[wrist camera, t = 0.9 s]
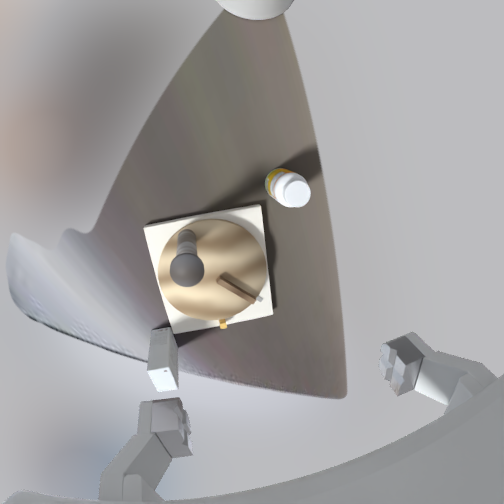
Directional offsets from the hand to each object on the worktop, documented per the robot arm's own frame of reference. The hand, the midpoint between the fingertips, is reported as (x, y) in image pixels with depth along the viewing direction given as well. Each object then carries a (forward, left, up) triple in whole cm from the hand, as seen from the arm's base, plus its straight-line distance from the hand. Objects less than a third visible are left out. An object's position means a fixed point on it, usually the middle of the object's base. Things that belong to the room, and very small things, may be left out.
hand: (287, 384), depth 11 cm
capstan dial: (+15, -2, -42) cm, 44 cm away
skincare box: (+29, -14, -44) cm, 54 cm away
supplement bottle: (+1, +12, -44) cm, 45 cm away
